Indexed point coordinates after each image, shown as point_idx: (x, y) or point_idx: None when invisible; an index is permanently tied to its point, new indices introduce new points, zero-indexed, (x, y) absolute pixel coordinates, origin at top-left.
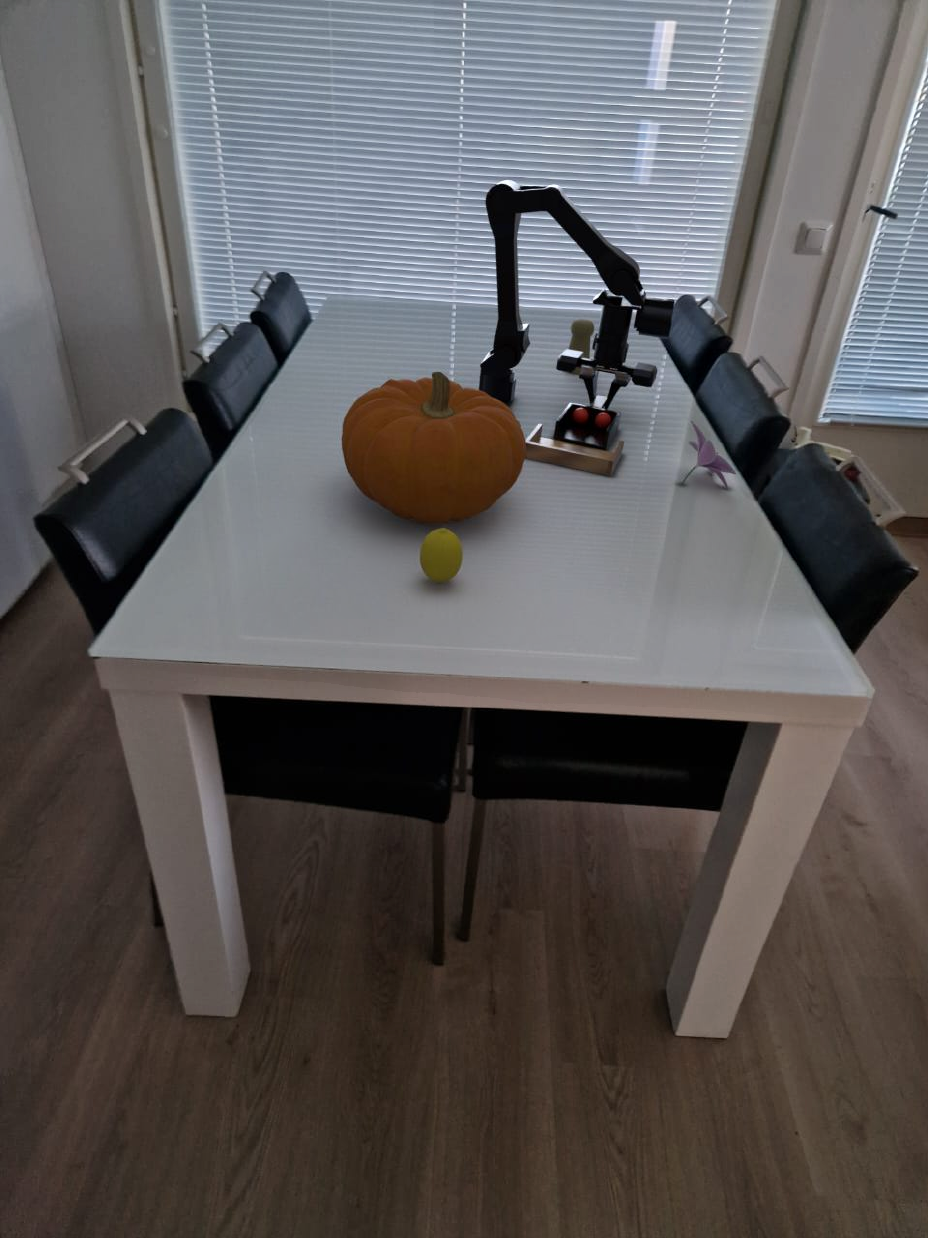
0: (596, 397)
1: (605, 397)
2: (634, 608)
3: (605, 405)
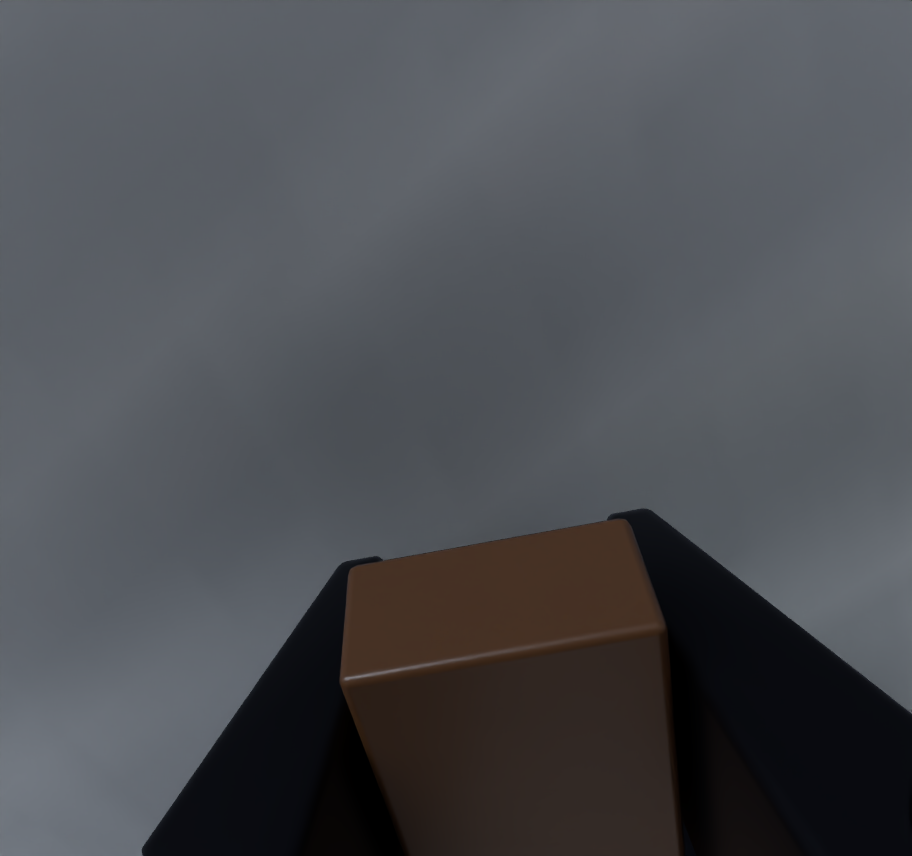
0: (411, 826)
1: (607, 692)
2: None
3: None
